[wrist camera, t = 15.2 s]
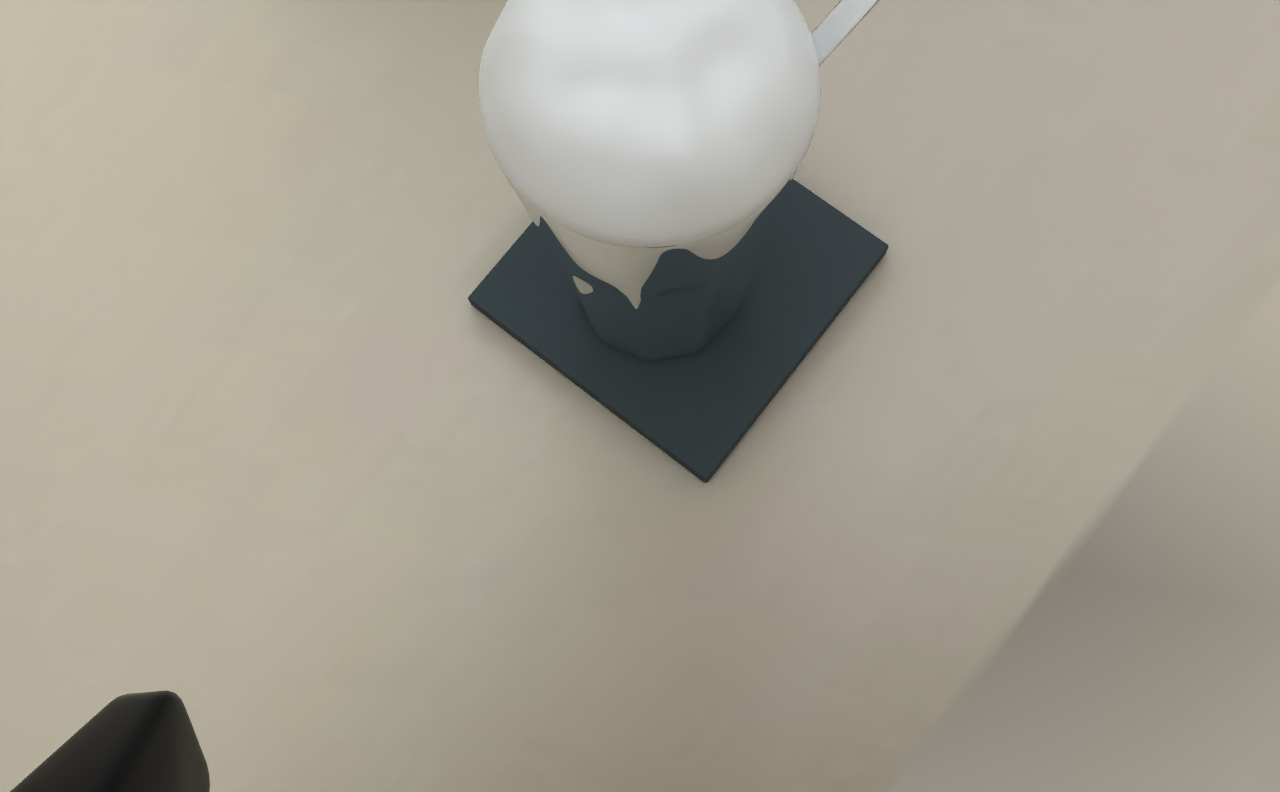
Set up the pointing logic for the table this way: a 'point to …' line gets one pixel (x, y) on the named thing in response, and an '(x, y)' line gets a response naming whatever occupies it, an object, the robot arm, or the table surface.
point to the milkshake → (655, 147)
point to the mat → (728, 364)
